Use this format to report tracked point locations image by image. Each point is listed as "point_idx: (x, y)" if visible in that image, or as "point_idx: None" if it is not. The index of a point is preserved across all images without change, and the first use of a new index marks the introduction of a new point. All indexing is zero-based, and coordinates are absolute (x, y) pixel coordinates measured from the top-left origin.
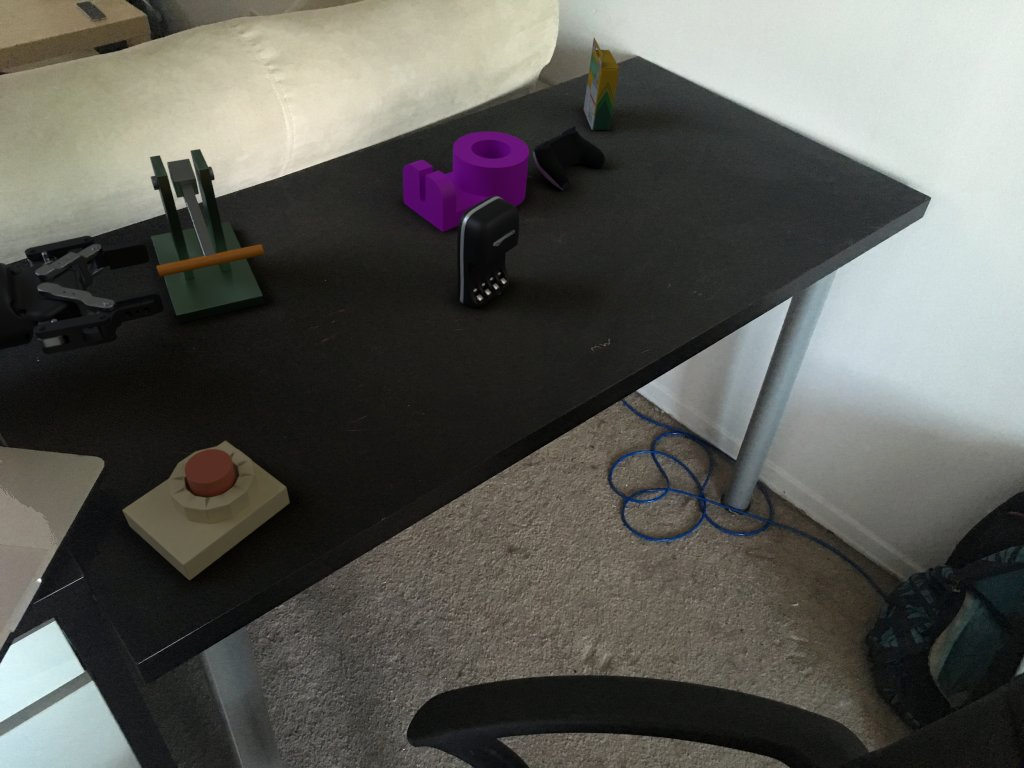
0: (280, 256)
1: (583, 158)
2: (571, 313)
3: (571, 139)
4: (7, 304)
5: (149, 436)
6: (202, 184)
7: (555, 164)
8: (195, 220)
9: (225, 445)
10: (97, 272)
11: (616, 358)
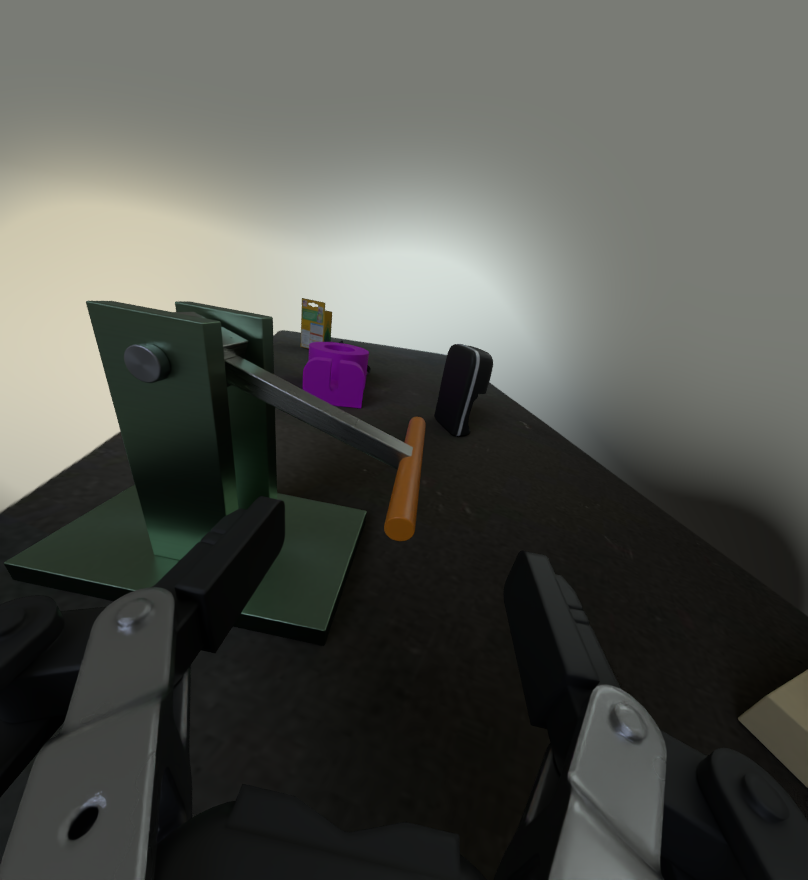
0: (284, 475)
1: None
2: (490, 418)
3: None
4: None
5: None
6: (264, 352)
7: None
8: (325, 408)
9: (784, 701)
10: (188, 710)
11: (539, 426)
